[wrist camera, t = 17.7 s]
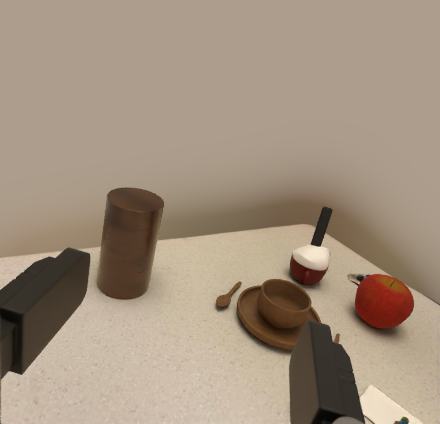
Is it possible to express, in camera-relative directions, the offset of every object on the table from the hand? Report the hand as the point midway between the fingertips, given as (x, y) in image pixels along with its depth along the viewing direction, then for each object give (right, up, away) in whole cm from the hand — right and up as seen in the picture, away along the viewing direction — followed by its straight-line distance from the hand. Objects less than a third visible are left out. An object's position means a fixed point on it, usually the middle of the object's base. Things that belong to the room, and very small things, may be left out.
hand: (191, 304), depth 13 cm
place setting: (+7, -13, +34) cm, 38 cm away
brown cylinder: (-12, -7, +38) cm, 40 cm away
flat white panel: (+20, -20, +27) cm, 39 cm away
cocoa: (+16, -8, +51) cm, 54 cm away
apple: (+25, -14, +44) cm, 52 cm away
